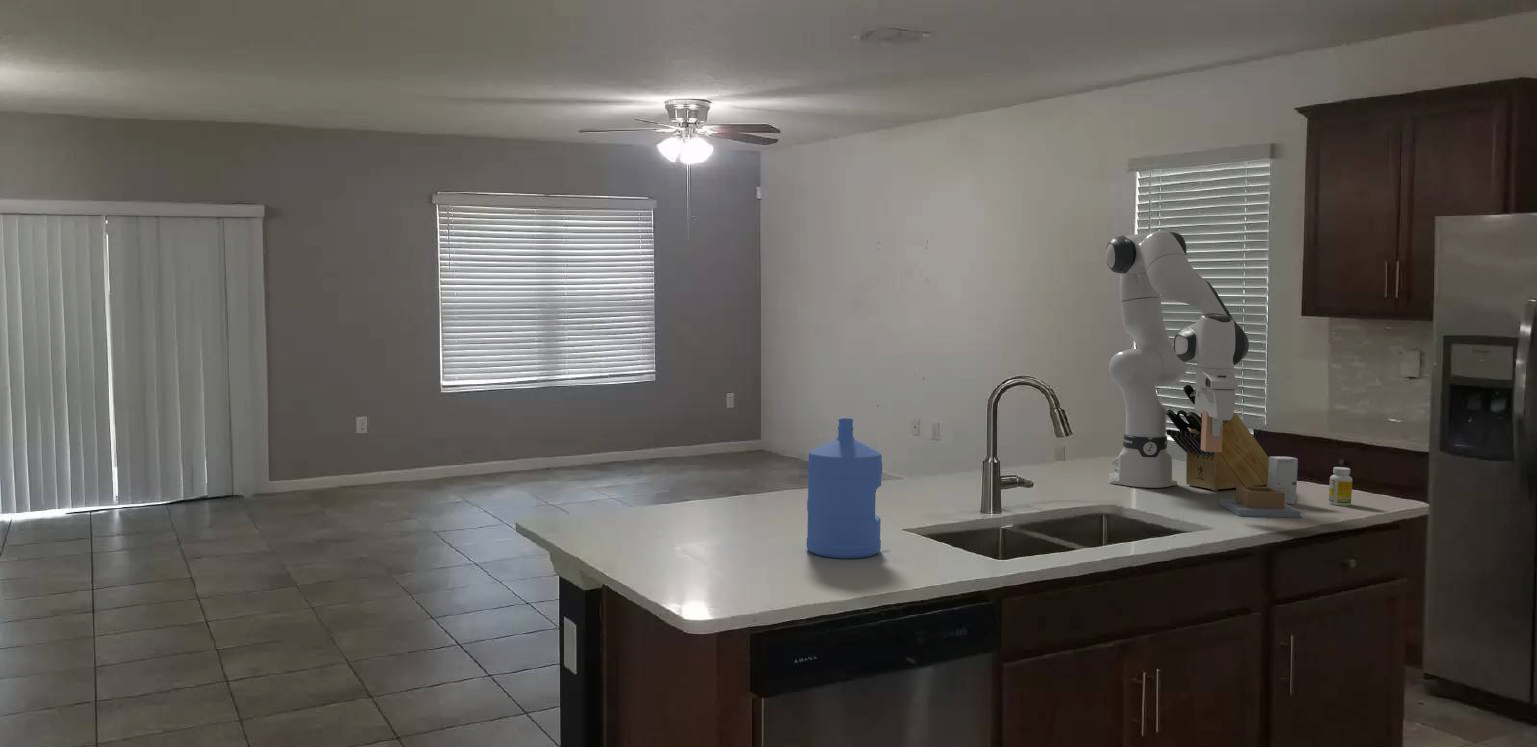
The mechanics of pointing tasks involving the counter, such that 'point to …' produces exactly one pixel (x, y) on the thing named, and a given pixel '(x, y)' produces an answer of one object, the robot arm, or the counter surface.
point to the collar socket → (1259, 503)
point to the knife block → (1219, 469)
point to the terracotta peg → (1208, 440)
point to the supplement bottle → (1340, 487)
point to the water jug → (843, 497)
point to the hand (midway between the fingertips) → (1211, 434)
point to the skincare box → (1283, 476)
